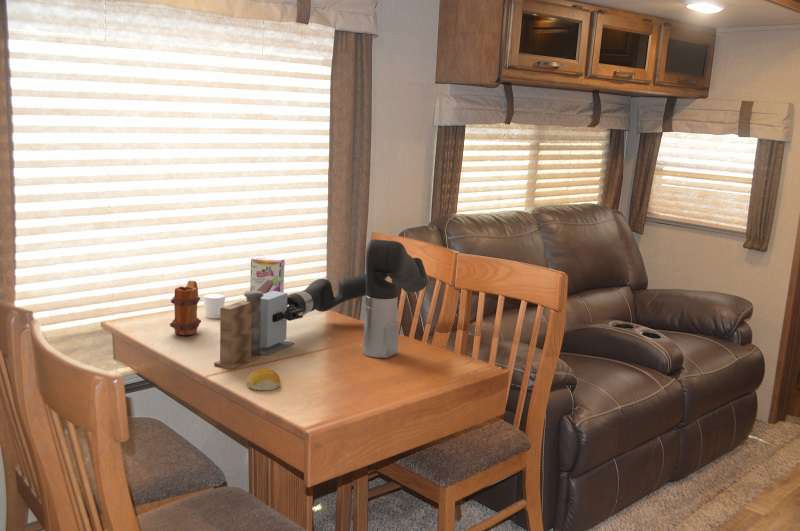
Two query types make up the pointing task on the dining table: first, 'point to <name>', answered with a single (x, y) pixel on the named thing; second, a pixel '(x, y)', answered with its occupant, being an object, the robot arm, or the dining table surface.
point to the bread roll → (263, 380)
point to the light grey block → (269, 329)
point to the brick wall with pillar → (240, 331)
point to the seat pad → (274, 347)
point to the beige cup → (213, 305)
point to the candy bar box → (267, 274)
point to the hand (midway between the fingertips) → (265, 317)
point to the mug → (186, 309)
